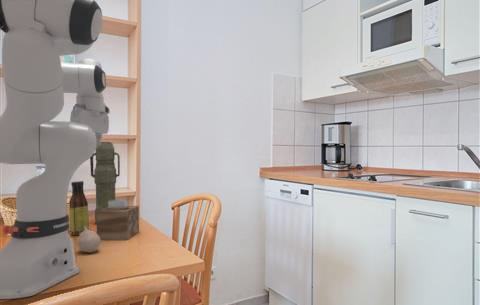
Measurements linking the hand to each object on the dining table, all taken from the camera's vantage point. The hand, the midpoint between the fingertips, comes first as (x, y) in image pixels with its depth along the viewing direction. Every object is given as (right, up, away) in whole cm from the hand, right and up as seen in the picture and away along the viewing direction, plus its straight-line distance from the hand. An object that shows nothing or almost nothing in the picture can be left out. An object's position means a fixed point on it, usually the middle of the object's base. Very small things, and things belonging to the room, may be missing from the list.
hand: (90, 145), depth 116 cm
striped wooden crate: (+8, -33, +4) cm, 34 cm away
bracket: (+8, -28, +4) cm, 29 cm away
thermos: (-5, -33, +26) cm, 42 cm away
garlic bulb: (+6, -33, -15) cm, 37 cm away
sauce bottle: (-7, -33, +7) cm, 35 cm away
